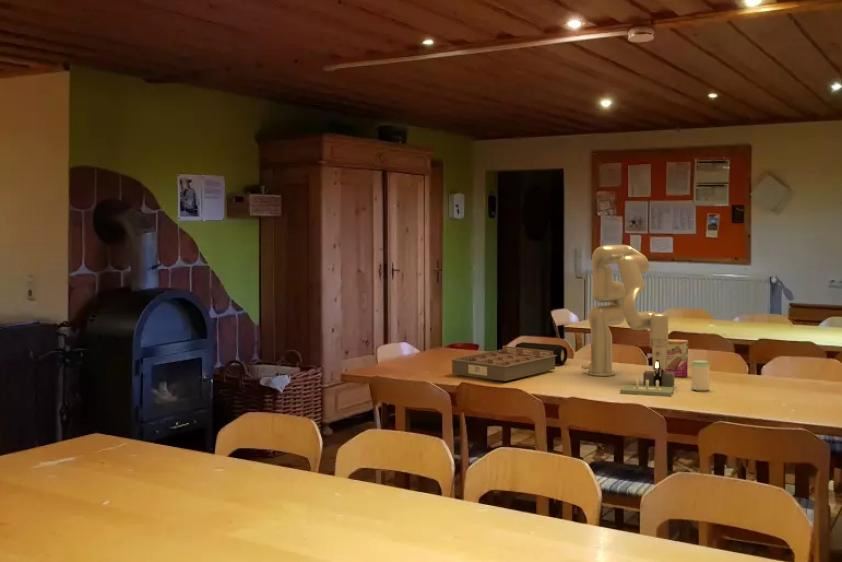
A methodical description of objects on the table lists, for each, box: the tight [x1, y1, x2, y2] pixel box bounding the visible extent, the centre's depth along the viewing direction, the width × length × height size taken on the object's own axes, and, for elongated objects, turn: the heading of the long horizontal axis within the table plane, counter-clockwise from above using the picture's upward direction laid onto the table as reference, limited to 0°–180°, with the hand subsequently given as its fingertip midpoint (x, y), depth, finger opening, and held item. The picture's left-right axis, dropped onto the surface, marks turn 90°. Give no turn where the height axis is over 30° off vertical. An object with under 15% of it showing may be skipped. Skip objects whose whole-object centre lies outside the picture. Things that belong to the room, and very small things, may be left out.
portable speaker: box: [514, 341, 568, 365], centre depth 426 cm, size 26×10×10 cm, turn 57°
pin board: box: [619, 378, 675, 397], centre depth 350 cm, size 20×12×5 cm, turn 68°
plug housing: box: [642, 370, 675, 387], centre depth 362 cm, size 12×6×6 cm, turn 68°
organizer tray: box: [449, 345, 557, 382], centre depth 398 cm, size 32×40×10 cm
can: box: [691, 359, 711, 392], centre depth 353 cm, size 7×7×12 cm
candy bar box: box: [664, 338, 689, 378], centre depth 384 cm, size 11×5×16 cm, turn 71°
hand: (658, 383), depth 362 cm, fingers open, 7 cm apart
